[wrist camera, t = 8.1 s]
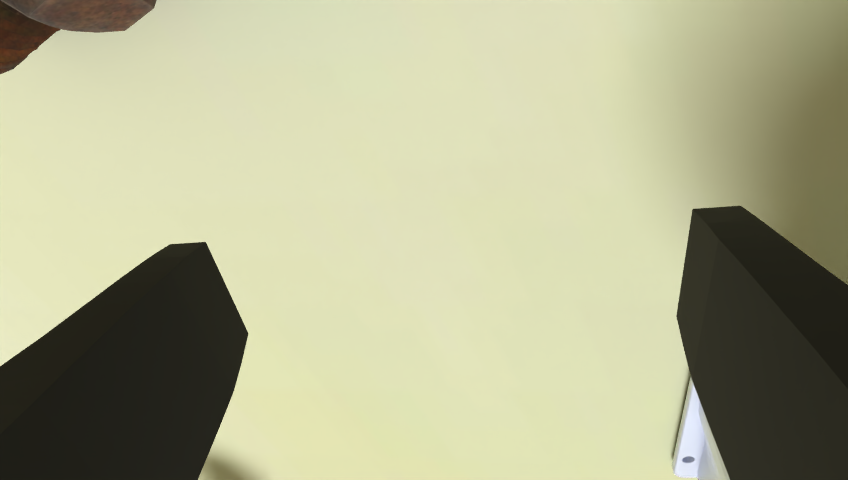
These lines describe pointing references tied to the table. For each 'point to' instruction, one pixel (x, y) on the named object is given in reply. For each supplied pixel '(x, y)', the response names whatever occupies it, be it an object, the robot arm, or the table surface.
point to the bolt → (59, 22)
